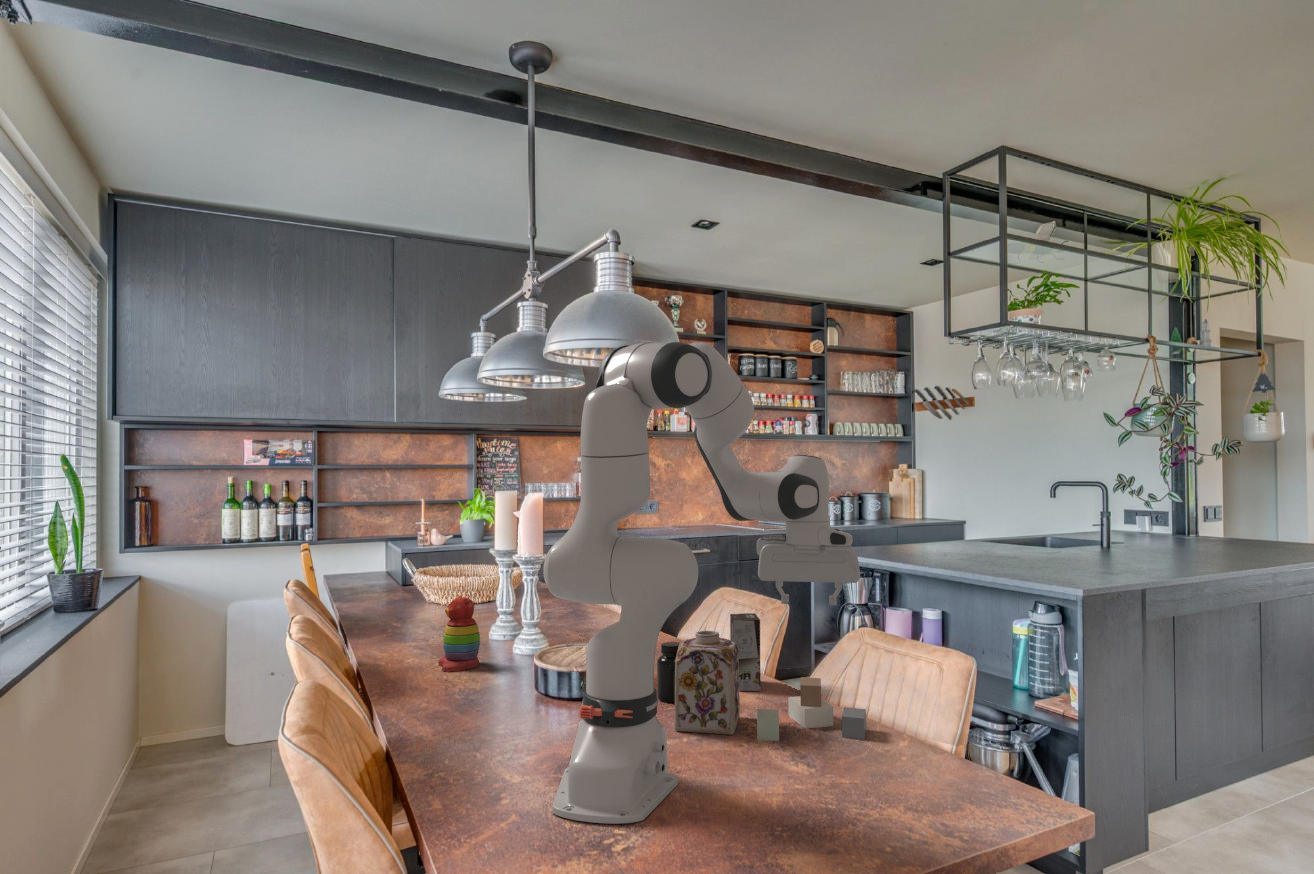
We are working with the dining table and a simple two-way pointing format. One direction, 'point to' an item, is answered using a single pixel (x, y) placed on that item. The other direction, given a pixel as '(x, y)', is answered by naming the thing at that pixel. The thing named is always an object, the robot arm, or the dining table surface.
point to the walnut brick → (810, 691)
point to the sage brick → (767, 725)
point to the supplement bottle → (667, 672)
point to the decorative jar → (707, 685)
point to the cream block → (810, 713)
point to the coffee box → (747, 649)
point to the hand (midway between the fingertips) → (808, 604)
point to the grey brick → (854, 723)
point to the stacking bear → (460, 637)
